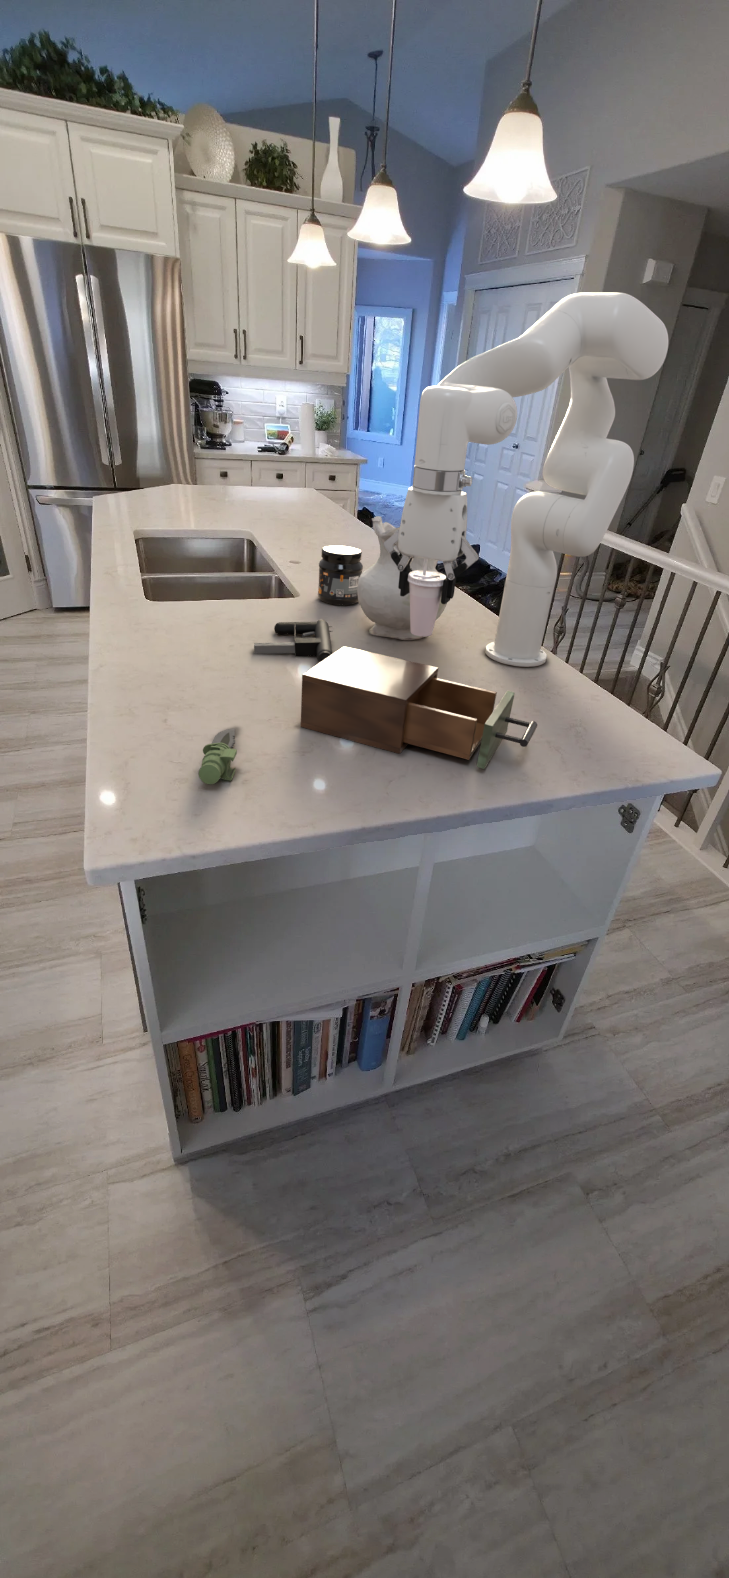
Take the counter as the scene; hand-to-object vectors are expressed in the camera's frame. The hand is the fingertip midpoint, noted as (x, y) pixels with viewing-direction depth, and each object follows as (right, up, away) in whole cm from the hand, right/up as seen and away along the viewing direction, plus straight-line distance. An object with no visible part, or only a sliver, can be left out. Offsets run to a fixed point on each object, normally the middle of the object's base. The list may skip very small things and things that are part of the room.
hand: (425, 597), depth 112 cm
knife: (-30, -28, -16) cm, 44 cm away
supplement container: (-16, +14, +54) cm, 58 cm away
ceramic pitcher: (-2, +3, +38) cm, 38 cm away
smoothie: (0, -5, +3) cm, 6 cm away
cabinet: (-9, -21, -3) cm, 23 cm away
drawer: (+5, -24, -8) cm, 26 cm away
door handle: (-24, -4, +24) cm, 34 cm away
